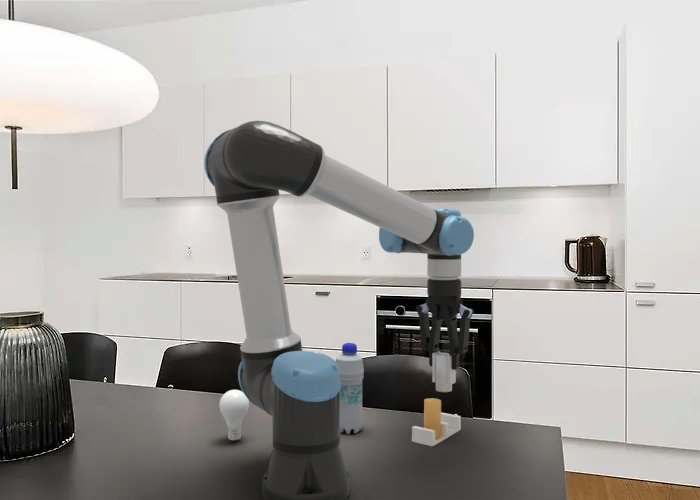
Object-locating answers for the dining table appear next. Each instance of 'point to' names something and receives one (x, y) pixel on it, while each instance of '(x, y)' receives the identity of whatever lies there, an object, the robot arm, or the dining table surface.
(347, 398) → the bottle
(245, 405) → the lightbulb
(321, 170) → the robot arm
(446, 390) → the grey plug
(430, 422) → the orange plug
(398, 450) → the dining table surface
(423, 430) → the rack
